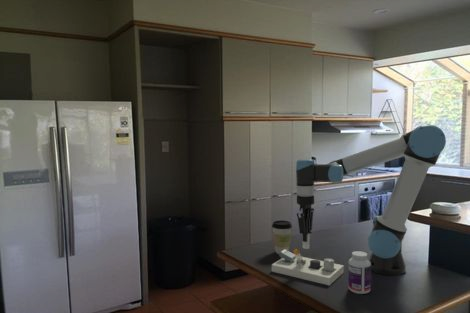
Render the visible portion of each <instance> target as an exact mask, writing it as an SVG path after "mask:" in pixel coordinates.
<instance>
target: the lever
mask: <svg viewBox="0 0 470 313" xmlns="http://www.w3.org/2000/svg"><path fill="white" fill-rule="evenodd" d="M293 254H295V256H296V258H297V260H298V263H299V264H302V261H303V259H302V257H303V256H302V254H301V253H300V250H299V249H298V248H294V249H293Z"/></svg>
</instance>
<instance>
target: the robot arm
mask: <svg viewBox="0 0 470 313" xmlns="http://www.w3.org/2000/svg"><path fill="white" fill-rule="evenodd" d="M446 143H447V139H446V134H445V133H444V131H443V130H442V129H441V128H440V127H438V126H437V125H433V124H428V123H426V124H421V125H418V126H417V127H415V128H414V129H413V130H411V131H409V132H406V133H403V134H401V135H400V137H399V138H397V139H393V140H391V141H388V142H385V143H382V144H379V145H377V146H374V147H373V146H372V147H371V148H368V149H365V150H362V151H359V152H356V153H353V154H350V155H348V156H345V157H342V158H339V159H337V160H333V161H330V162H329V163H325V164H321V163H319V164H318V163H315V161H314V159H310V158H301V159H298V160H297V161H296V163H295V164H296V166H295V168H296V169H295V173H296V174H295V175H296V178H295V179H296V180H295V181H296V186H295V189H296V194H297V195H296V204H297V205H299V212H297V213H296V216H297V223H298V228H299V234H300V235H301V234H302V235H301V236H302V238H301V239H302V249H304V250H305V249H306V250H310V248H311V247H310V242H311V241H310V237H311V236H310V234H312V233H313V218H314V211H315V209H314V208H312V205H314V204H315V182H316V183H317V182H318V183H319V182H320V183H332V184H335V183H342V182H343V180H344V176H347V175H350V174H352V173H356V172H360V171H362V170H365V169H369V168H372V167H374V166H375V167H376V166H378V165H381V164H384V163H387V162H391V161H394V160H396V159H399V158H402V157H404V159H405V160H404V162H403V165H402V167H401V169H400V172H399V175H398V178H397V179H396V182H395V184H394V187H393V190H392V192H391V194H390V196H389V198H388V201H387V204H386V206H385V208H384V211H383V213H382V215H375V216H374V217H373V219H372V230H371V232H370V234H369V236H368V238H367V244H368V248H369V250H370V251H371V254H370V255H369V257H368V258H369V259H368V260H369V261H370V262H371V272H374V273H377V274H380V275H385V276H400V275H404V274H405V273H406V266H407V265H406V262H405V260H404V257H403V253H402V247H403V240H404V238H405V235H406V233H407V231H408V228H407V227H406V225H405V224H406V222H407V220H408V218H409V215H410V213H411V211H412V208H413V206H414V203H415V201H416V199H417V197H418V194H419V193H420V190H421V188H422V185H423V183H424V180H425V178H426V176H427V173H428V171H429V169H430V168H431V167H434V166H436V165H437V161H438V159H439V158H440V155H441V153H442V152H443V150H444V149H445V146H446Z"/></svg>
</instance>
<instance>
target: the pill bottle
mask: <svg viewBox="0 0 470 313" xmlns="http://www.w3.org/2000/svg"><path fill="white" fill-rule="evenodd" d="M347 263H348V272H347V273H348V276H347V278H348V279H347V280H348V282H347V283H348V284H347V285H348V286H347V288H348V290H350V291H351V292H352V293H354V294H356V295H357V294H358V295H363V294H368V293H370V292H371V289H372V287H371V286H372V285H371V283H372V282H371V280H372V278H371V277H372V276H371V275H372V270H371V262H370V261H369V259H368V253H367V252H364V251H360V250H359V251H357V250H356V251H355V250H354V251H352V252H351V258H350V259H348V262H347Z"/></svg>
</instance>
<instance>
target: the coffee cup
mask: <svg viewBox="0 0 470 313" xmlns="http://www.w3.org/2000/svg"><path fill="white" fill-rule="evenodd" d="M292 227H293V225H292V223H291V222H290V221H288V220H284V219H283V220H274V221H273V222H272V225H271V228H272V231H273V232H272V235H273V241H274V250H275V254H277V255H279V254H280V252H281V251H283V250H284V249H285V250H287V251H289V252H290V250H289V248H290V244H291V236H292V235H291V234H292V233H291V230H292Z"/></svg>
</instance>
